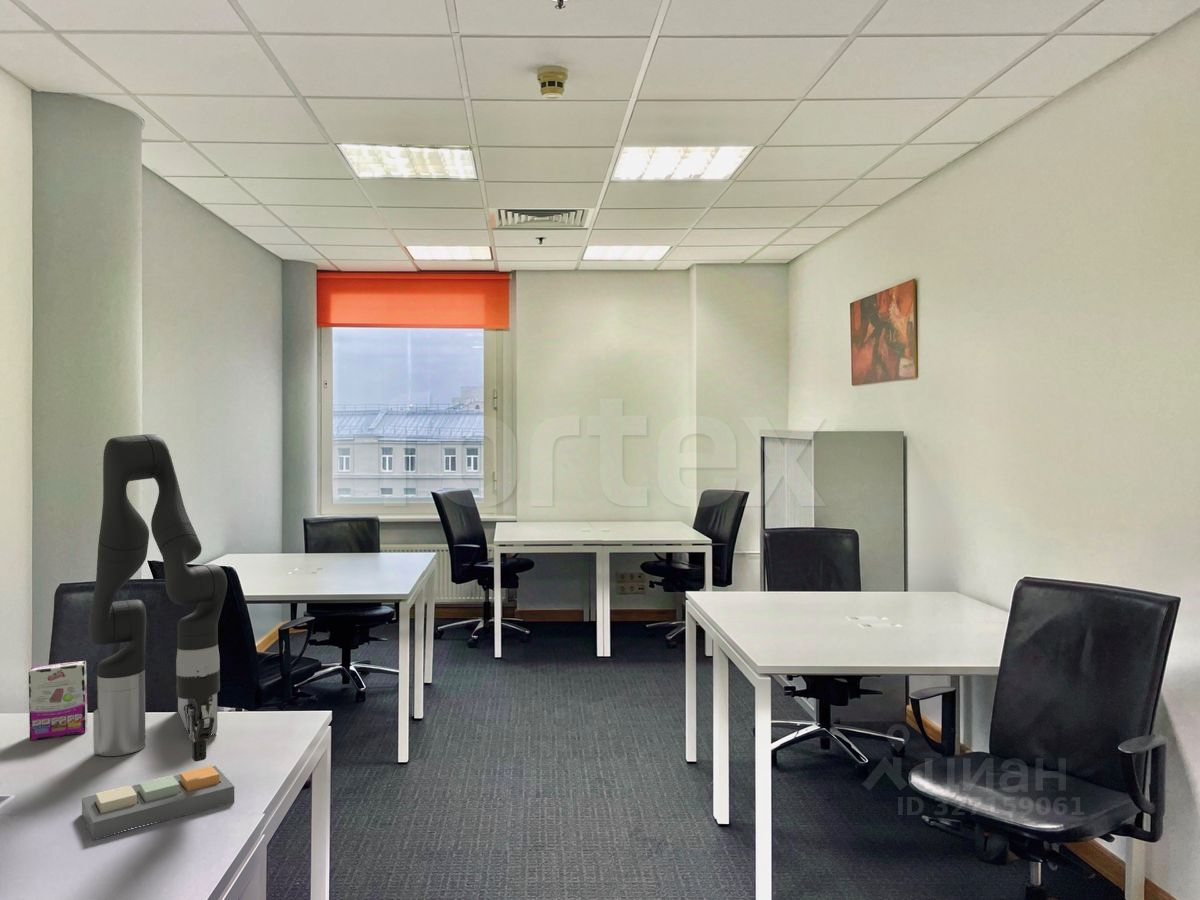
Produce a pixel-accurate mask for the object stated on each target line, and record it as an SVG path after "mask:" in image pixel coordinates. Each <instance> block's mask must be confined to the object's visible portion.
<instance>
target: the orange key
mask: <svg viewBox="0 0 1200 900" xmlns="http://www.w3.org/2000/svg"><path fill="white" fill-rule="evenodd" d="M179 775H180V784H181V785H182V786H183V787H184V789H185V790H186V791H190V790H194V789H198V788H202V787H206V786H210V785H214V784H218V783H219V773H218V772H217V771H216V770H215V769H214V768H213V765H208V766H204V767H200V768H195V769H191V770H187V771H186V770H185V771H181V772H180V773H179Z"/></svg>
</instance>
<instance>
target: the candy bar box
mask: <svg viewBox="0 0 1200 900" xmlns="http://www.w3.org/2000/svg"><path fill="white" fill-rule="evenodd" d="M87 685H88V683H87V660H81V661H80V660H79V661H71V662H70V661H68V662H62V663H61V662H60V663H54V664H53V663H52V664H45V665H44V664H43V665H36V666H32V667H31V668H30V670H29V671H28V702H29V703H28V705H29V706H28V707H29V708H28V709H29V710H28V711H29V714H28V716H29V717H28V718H29V722H28V723H29V741H31V742H32V741H38V740H46V739H47V740H48V739H52V738H53V739H54V738H60V737H64V736H65V737H67V736H72V735H79V734H85V733H86V732H87V729H88V698H87V697H88V689H87V688H88V687H87Z"/></svg>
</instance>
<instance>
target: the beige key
mask: <svg viewBox="0 0 1200 900" xmlns="http://www.w3.org/2000/svg"><path fill="white" fill-rule="evenodd" d="M132 786H133V785H131V784H129V785H124V786H120V787H117V788H113V789H108V790H104V791H100V792H96V793H95V795H96V806H97V808H98V810H99V812H100V813H104V812H108V811H112V810H115V809H119V808H123V807H127V806H131V805H135V804H137V794H136V792H135V791H134V789H133V788H132Z"/></svg>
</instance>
